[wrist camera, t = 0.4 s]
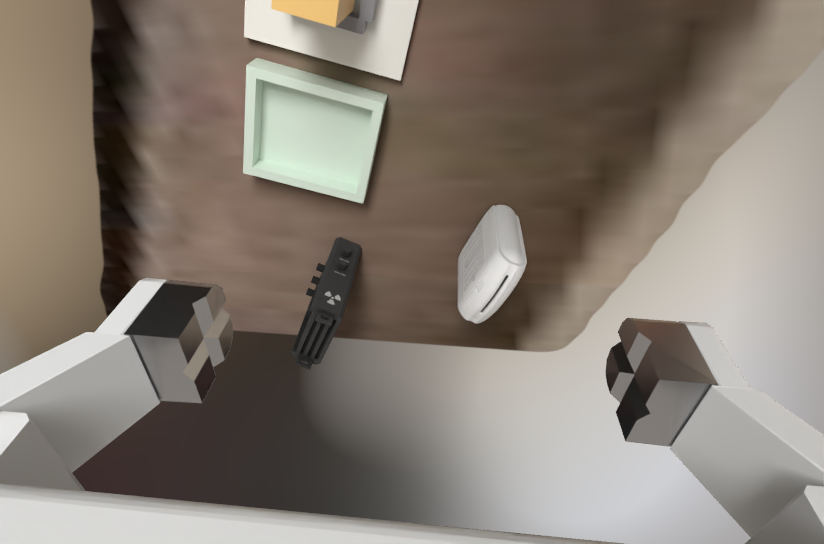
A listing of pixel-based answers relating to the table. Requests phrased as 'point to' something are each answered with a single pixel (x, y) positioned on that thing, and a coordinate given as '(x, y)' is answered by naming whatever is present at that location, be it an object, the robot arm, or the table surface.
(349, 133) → the parts tray
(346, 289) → the geiger counter
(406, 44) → the panel
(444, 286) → the table surface
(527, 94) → the table surface
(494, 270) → the photo printer
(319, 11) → the block
